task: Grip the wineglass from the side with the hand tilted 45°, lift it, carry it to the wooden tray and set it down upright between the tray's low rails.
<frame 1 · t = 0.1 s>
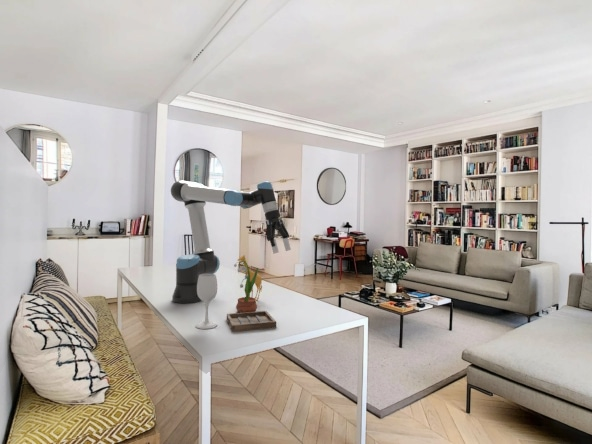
hand: (282, 251, 169), 28 cm above the table, tool tilted 20°, fingers open, 13 cm apart
wineglass: (206, 326, 139), on the table
potted flower: (244, 311, 160), on the table
wooden tray: (250, 323, 143), on the table
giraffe: (249, 301, 178), on the table
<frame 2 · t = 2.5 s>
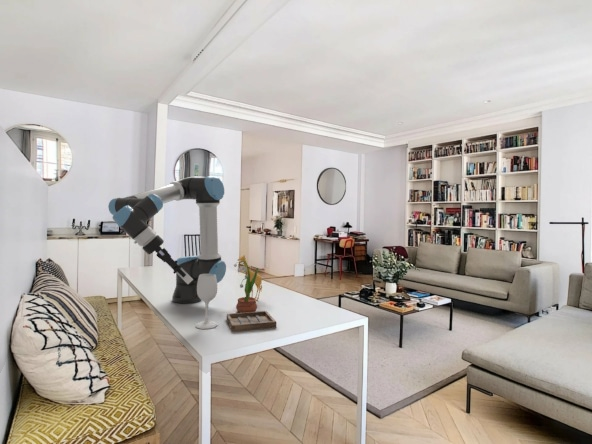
hand: (188, 279, 135), 20 cm above the table, tool tilted 45°, fingers open, 13 cm apart
nothing on the table moved.
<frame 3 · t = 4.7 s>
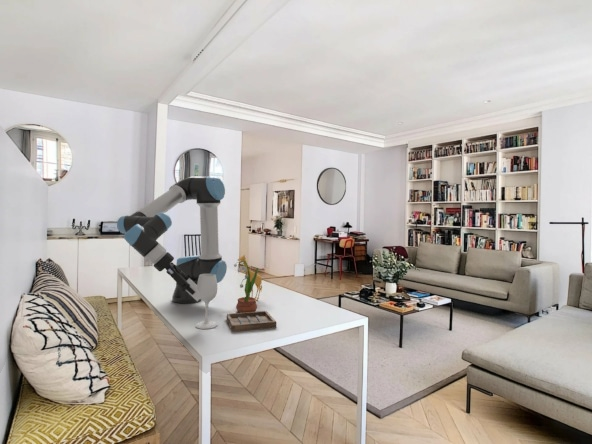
hand: (199, 294, 136), 13 cm above the table, tool tilted 45°, fingers open, 13 cm apart
nothing on the table moved.
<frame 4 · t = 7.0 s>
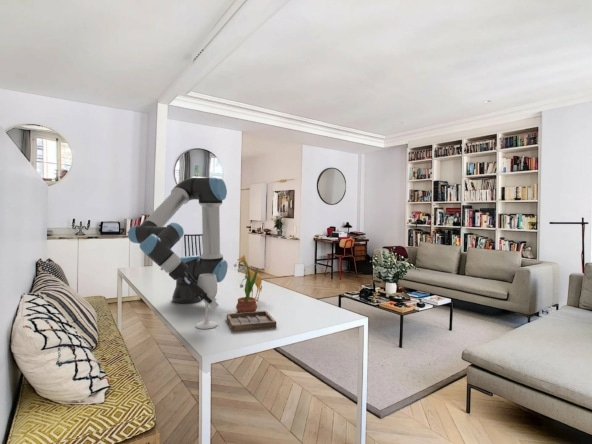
hand: (215, 304, 140), 9 cm above the table, tool tilted 45°, fingers closed on wineglass, 8 cm apart
wineglass: (206, 326, 139), on the table, touching gripper
everything else where it was.
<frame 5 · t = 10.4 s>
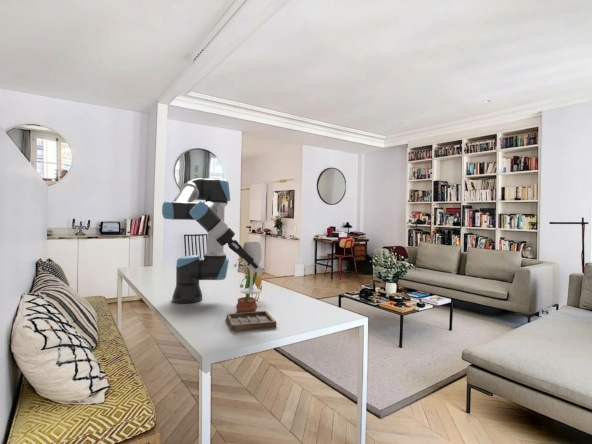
hand: (259, 271, 143), 22 cm above the table, tool tilted 45°, fingers closed on wineglass, 8 cm apart
wineglass: (251, 292, 142), point 13 cm above the table, touching gripper
everything else where it was.
when the fingers open (12 cm above the table, at t = 13.6 s): wineglass drops 1 cm, resting on wooden tray.
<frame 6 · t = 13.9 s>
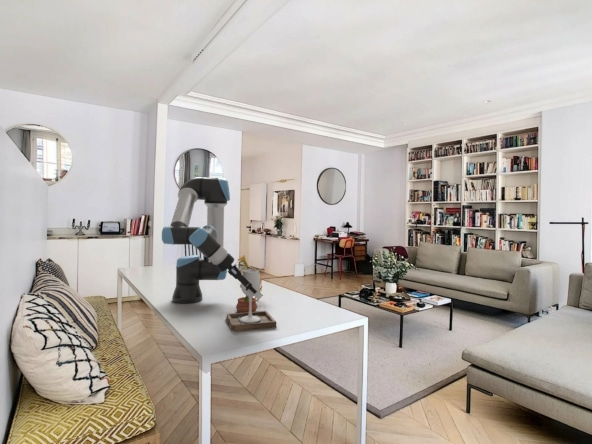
hand: (257, 294, 143), 12 cm above the table, tool tilted 45°, fingers open, 12 cm apart
wineglass: (250, 320, 143), point 1 cm above the table, touching wooden tray
everything else where it was.
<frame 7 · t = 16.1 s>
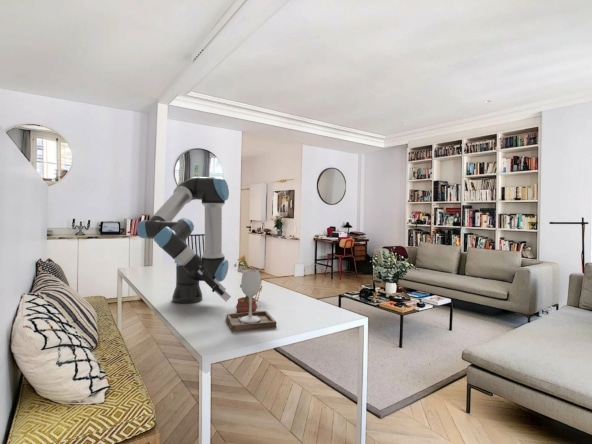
hand: (226, 295, 139), 13 cm above the table, tool tilted 45°, fingers open, 13 cm apart
nothing on the table moved.
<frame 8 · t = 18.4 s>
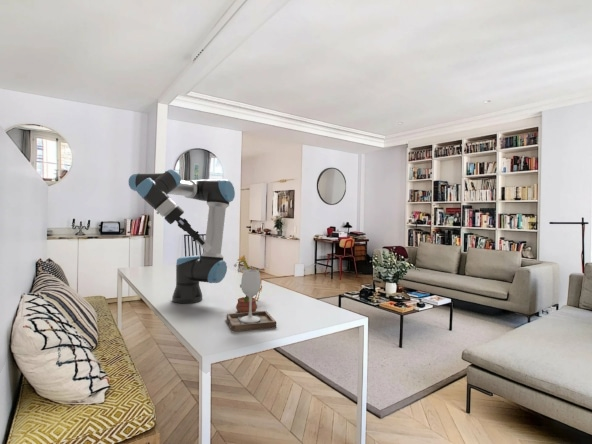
hand: (207, 248, 142), 32 cm above the table, tool tilted 45°, fingers open, 13 cm apart
nothing on the table moved.
at the end: wineglass inside the target area on the wooden tray (0.5 cm from its centre), point 1.2 cm above the wooden tray's base; wineglass tilted 0°; the gripper is holding nothing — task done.
